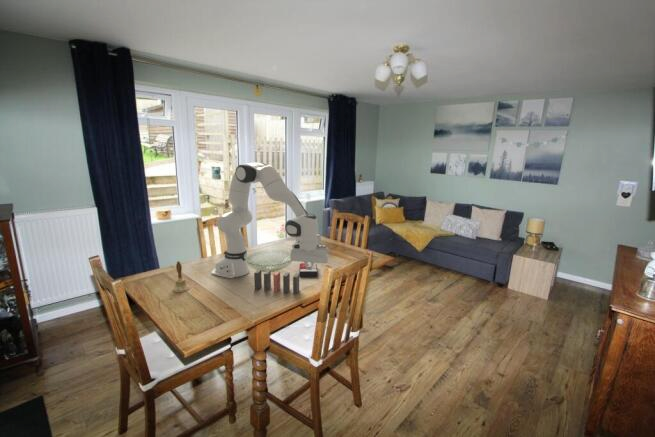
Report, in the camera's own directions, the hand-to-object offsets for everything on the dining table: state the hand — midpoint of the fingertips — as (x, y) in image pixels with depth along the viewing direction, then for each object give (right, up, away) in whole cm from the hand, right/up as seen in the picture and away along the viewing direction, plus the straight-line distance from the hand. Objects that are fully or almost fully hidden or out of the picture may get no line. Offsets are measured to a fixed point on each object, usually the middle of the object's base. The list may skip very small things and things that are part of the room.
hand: (309, 269), depth 163 cm
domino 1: (-29, -12, +8) cm, 33 cm away
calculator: (-3, -8, +32) cm, 33 cm away
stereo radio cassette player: (-6, +3, +75) cm, 75 cm away
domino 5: (-7, -13, +5) cm, 16 cm away
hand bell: (-70, -12, +5) cm, 72 cm away
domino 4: (-13, -13, +6) cm, 19 cm away
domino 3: (-18, -12, +7) cm, 23 cm away
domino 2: (-24, -12, +7) cm, 28 cm away
